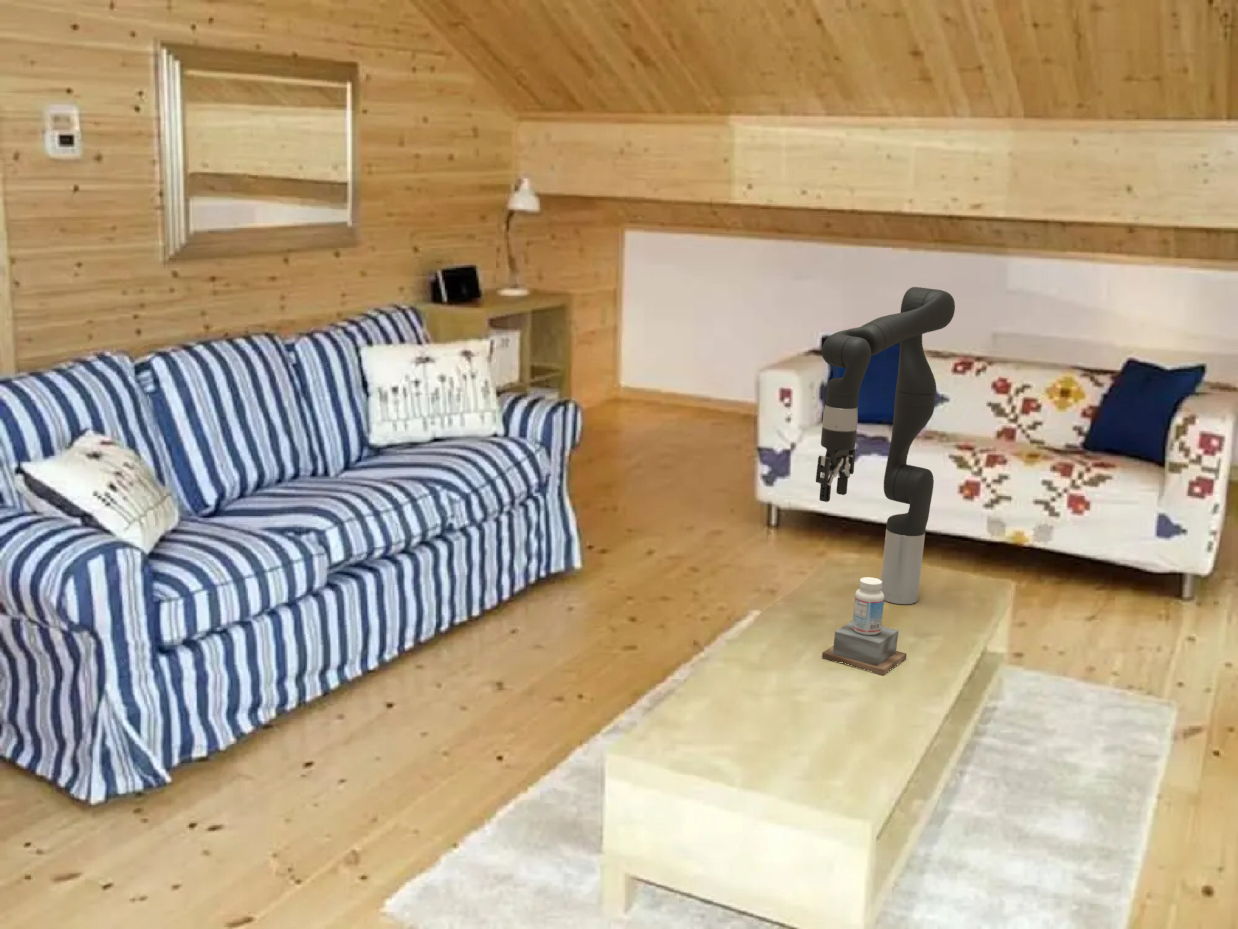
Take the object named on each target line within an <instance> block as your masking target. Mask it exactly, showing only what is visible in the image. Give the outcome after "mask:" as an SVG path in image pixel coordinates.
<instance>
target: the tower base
mask: <svg viewBox="0 0 1238 929" xmlns="http://www.w3.org/2000/svg"><path fill="white" fill-rule="evenodd" d="M898 638H899V630H898V629H894V628H889V627H886V626H881V632H880V633H879V634H876V635H864V634H859V633H857V632H855V631H854V630H853V620H851V621H850V622H848V623H846V624H845V625H844V626H842V627H840V628H838V629H836V630H835V631H834V640H833V646H830V647H829V648H828V649H826V650H824V651H822V653H821V658H822V657H823V658H822V659H824V658H827V659H830V660H829V661H831V660H834V661H837V662H836V663H838V662H843V663H846V664H849V665H852V666H854V667H853V668H855V667H858V668H857V669H859V668H861V669H860V670H862V669H865V670H864V671H866V670H869V671H872V672H871V673H873V672H875V673H874V674H876V673H878V674H877V675H880V674H881V675H880V676H884V674H885V673H886V674H888V673H889V672H890V671H891V670H893V669H895V668H896V667H897V666H898V665H899V663H900V662H901V663H903V662H904V661H905V660H907V653H908V652H907V653H906V652H902V651H899V650H897V649H898V648H897V646H898ZM827 659H826V660H827ZM904 659H905V660H904ZM903 660H904V661H903ZM834 661H833V662H834ZM901 663H900V664H901ZM897 664H898V665H897ZM896 665H897V666H896ZM852 666H851V667H852ZM895 666H896V667H895ZM892 668H893V669H892ZM890 669H891V670H890ZM889 670H890V671H889ZM869 671H868V672H869ZM888 671H889V672H888ZM886 674H885V675H886Z"/></svg>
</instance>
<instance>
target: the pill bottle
mask: <svg viewBox="0 0 1238 929" xmlns="http://www.w3.org/2000/svg"><path fill="white" fill-rule="evenodd" d="M881 588H882V581H881V578H880V579H879V578H877V577H872V576H871V577H869V576H867V577H865V576H864V577H861V578H860V579H859V588H857V590H856V591H855V595H854V603H853V604H854V606H853V616H852V621H853V630H854V631H855V632H857V633H859V634H864V635H876V634H879V633H880V632H881V626H882V625H883V612H884V604H885V600H884V594H883V592H882V591H881V590H880V589H881Z"/></svg>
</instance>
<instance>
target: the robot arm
mask: <svg viewBox="0 0 1238 929" xmlns="http://www.w3.org/2000/svg"><path fill="white" fill-rule="evenodd" d="M955 309H956V304H955V300H954V297H953V296H952V295H951V293H949V292H948V291H946V290H942V289H937V288H936V289H935V288H929V287H928V288H927V287H919V286H912V287H910V288H908V289H907V290H906V291H905V293H904V295H903V298H902V300H901V304H900V312H899V313H892V314H888V315H884V316H880V317H877V318H875V319H873V320H871V321H869V322H867V323H865V324H862V325H861V326H859V327H858V326H857V327H853V328H848V329H844V330H840V331H837V332H834V333H833V334H831V335H830V336H828V337H827V338H826V340H824V342H823V344H822V347H821V356H822V359H823V360H824V362H825V363H827V364H828V365H829V366H832V367H837V368H843V369H845V372H844V374H843V376H841V377H833V378H831V379H830V380H828V381H827V386H826V392H825V405H824V410H823V416H822V426H821V435H820V436H821V437H820V446H821V447H822V448H824V449H826V452H825V455H818V458H817V467H816V474H815V475H816V476H815V482H816V483H818V484H820V486H819V487H820V488H819V501H820V502H825V503H828V502H830V500H831V494H832V493H831V490H832V483H833V480H834V478H836V477H837V476H838V477H837V481H836V482H837V483H836V494H837V495H841V496H845V495H847V492H848V483H849V479H850V477H851V475H853V474H854V471H855V461H856V460H855V458H856V448H855V447H856V442H857V441H856V440H857V433H858V432H857V431H858V430H857V429H858V419H859V415H858V414H859V412H858V408H859V407H858V406H859V397H860V389H861V386H862V384H863V381H864V378H865V374H866V372H867V369H868V367H869V365H870V362H871V357H872V356H876V355H878V354H881V352H884V351H885V350H887V349H889V348H891V347H892V346H893V347H894V346H895V345H896V344H899V357H898V358H899V359H898V369H897V370H898V371H897V380H896V386H895V395H894V396H895V397H894V404H893V406H894V408H893V409H894V410H893V420H892V429H891V439H890V444H889V450H888V455H887V460H886V465H885V471H884V476H883V477H884V478H883V493H884V496H885V497H886V498H887V499H888V500H890V501H893V502H897V503H902V504H907V505H909V508H908V511H907V512H905V513H898V514H893V515H891V516H889V517H888V518H887V520H886V529H885V538H884V548H883V559H882V567H881V576H880V580H881V581H882V588H881V589H880V590H881V591H882V592H883V594H884V602H888V603H892V604H897V605H912V604H916V603H917V602H918V601H919V592H920V585H921V584H920V583H921V574H922V568H923V567H922V565H923V556H924V549H925V547H924V546H925V539H926V538H925V537H926V529H927V524H928V522H929V517H930V509H931V504H932V496H933V492H934V481H935V480H934V474H933V472H932V471H931V469H928V468H925V467H921V466H916V465H911V464H907V463H908V462H907V461H908V460H907V459H908V455H909V451H910V448H911V446H912V444H913V442H914V440H915V439H916V437H917V436H918V435H919V434H920V432H922V430H923V429H924V428H925V427H926V425H927V424H928V423H929V421H930V420H931V418H932V417H933V415H934V411H935V404H936V394H937V382H936V379H935V376H934V374H933V373H934V372H933V370H932V368H931V366H930V364H929V362H928V359H927V357H926V354H925V351H924V347H923V346H924V345H923V334H927V333H931V332H934V331H935V332H936V331H939V330H942V329H944V328H946V327H947V326H948V325H949V324H950V323H951V322H952V320H953V318H954V315H955V311H956V310H955Z"/></svg>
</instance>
